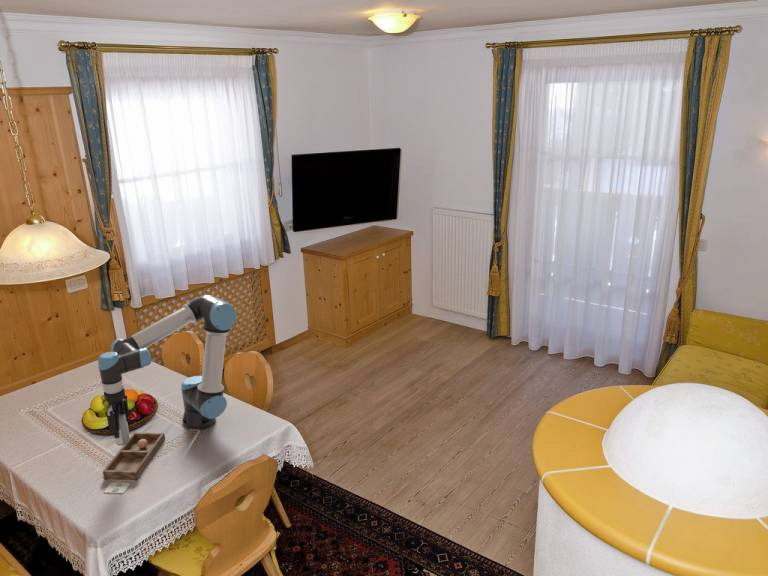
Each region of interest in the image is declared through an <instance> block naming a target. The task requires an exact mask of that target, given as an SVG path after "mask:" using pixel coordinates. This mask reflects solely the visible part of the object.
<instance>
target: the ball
mask: <svg viewBox="0 0 768 576" xmlns="http://www.w3.org/2000/svg"><path fill="white" fill-rule="evenodd" d="M146 446H147V441H146V440H145V439H141V440H139V441H138V447H139V448H145V447H146Z"/></svg>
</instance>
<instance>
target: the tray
mask: <svg viewBox="0 0 768 576" xmlns="http://www.w3.org/2000/svg"><path fill="white" fill-rule="evenodd" d="M129 439H130V441H129V443H127V444H125V445H122V447H121V448H120V449H119V450H118V452H117V453H115V455H114V457H113V458H112V459H111V460H110V462H109V463H108V464H107V466H105V468H104V469H103V471H102V474H103V478H104V480H107V481H134V482H135V481H137V482H138V481H139V480H140V478H141V477H140V476H141V474H142V473H143V471H144V469H145V468H146V466H147V465H148V464H149V462H150V461H151V459H152V458H153V457H154V456H155V454H156V452H157V451H158V449H159V448H160V447H161V446H162V444H163V442H164V441H165V439H166V436H165V433H164V432H133V433H132V434H131V435H130V436H129ZM141 439H145V440H146V441H147V446H146V447H145V448H139V447H138V441H139V440H141Z"/></svg>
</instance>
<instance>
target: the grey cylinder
mask: <svg viewBox="0 0 768 576" xmlns="http://www.w3.org/2000/svg"><path fill="white" fill-rule="evenodd" d="M127 423H128V421H127V422H126V416H125V414H119V429H121V434H122V439H123V444H116V445H117V446H124V445H125V444H127V443H129V441H130V439H129V438H130V435H129V434H130V432H129V433H128V429H129V426H128V427H127Z"/></svg>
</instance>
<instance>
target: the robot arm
mask: <svg viewBox="0 0 768 576" xmlns="http://www.w3.org/2000/svg"><path fill="white" fill-rule="evenodd" d="M237 318H238V317H237V311H236V309H235V307H234V306H233V305H231V303H229V302H228V301H225V300H223V299H221V298H219V297H217V296H215V295H211V294H205V295H201V296H199V297H195V298H193V299H192V300H189V301H188V302H186V303H184V304H183V305H182V308H179V309H178V310H175V311H173V312H172V313H171V314H169V315H166V316H165V317H163V318H161V319H160V320H158V321H156V322H154V323H152V324H151V325H149V326H146V327H145V328H143V329H141V330H139V331H137V332H136V333H134V334H132V335H131V336H129V337H125V338H122V337H121V338H117V339H115V340H114V341H113V342H112V343H111V345H110V350H111V351H107V352H104V353H101V354H100V355H99V356H98V358H97V364H98V370H99V371H98V372H99V374H100V375H99V376H100V380H101V386H102V391H103V397H104V401H105V402H107V403H108V410H106V411H105V413H104V414H105V416H106V419H107V425H108V429H109V431H108V432H109V433H113V435H114V441H115V444H116V445H117V444H123V439H122V434H121V429H119V414H125V416H126V422H127V427H128V433H129V436H131V435H130V429H129V424H128V422H130V420H131V418H130V411H129V404H128V395H126V393H125V392H126V391H125V388H124V381H123V374H127V373H129V372H133V371H136V370H138V369H143V368H145V367H148V366H150V365H151V364H152V356H151V353H150V351H149V349H148V348H149V347H150V346H152V345H153V344H155V343H157V342H159V341H160V340H162V339H164V338H166V337H167V336H168V337H169V335H171V334H173V333H175V332H178V330H180V329H182V328H184V327H185V326H187V325H189V324H190V323H192V324H195V323H197V322H200V321H203V331H204V332H205V333H206V334H205V343H204V352H203V355H204V356H203V365H202V373H201V375H193V376H191V377H187V378H185V379H184V380H182V382H181V385H180V386H181V388H180V390H181V394H182V400H183V401H182V403H183V409H184V411H183V415H182V420H181V422H182V426H183V427H185V428H188V429H191V430H192V429H193V430H196V429H199V430H198V431H201V430H205V429H208V428H209V427H211V426H212V425H214V424H215V422H216V418H218V417H220V416H221V415H222V414H223V413H224V412H225V411H226V409H227V405H228V401H227V399H226V397H225V396H224V392H225V391H224V390H225V386H224V385H223V384H222V379H223V377H222V376H223V369H224V368H223V367H224V359H225V349H226V343H227V335H228V333H230V332H231V329H232V328H233V326H234V325H235V324H236V321H237Z"/></svg>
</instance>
